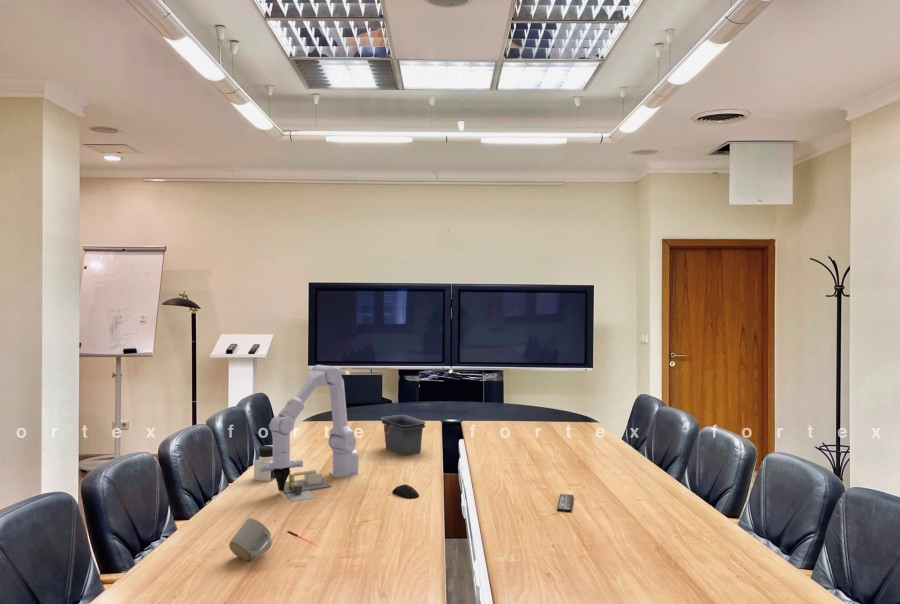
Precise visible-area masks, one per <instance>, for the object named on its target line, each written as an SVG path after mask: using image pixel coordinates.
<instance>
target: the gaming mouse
mask: <svg viewBox="0 0 900 604" xmlns="http://www.w3.org/2000/svg"><path fill="white" fill-rule="evenodd" d="M391 492H392V494H393V495H395V496H397V497H400V498H403V499H405V500H415V499H418V498H420V494H419V493H418V492H417V490H416V489H415V488H414V487H413V486H411V485H409V484H406V483H405V484H401V485H398V486H396V487H394V489H393V490H392V491H391Z"/></svg>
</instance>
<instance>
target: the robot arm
mask: <svg viewBox="0 0 900 604" xmlns="http://www.w3.org/2000/svg"><path fill="white" fill-rule="evenodd" d="M323 386H326V387H328V388H329V394H330V395H329V396H330V406H331V407H330V408H331V415H332V416H331V418H332V419H331V420H332V428H331V429H330V430H329V436H328V446H329V448H330V449H331V452H332V470H330V471H329V474H330V475H331V476H332V477H333V478H335V479H336V478H345V477H351V476H356V475H360V473H359V454H358V451H357V450H356V449H355V447H356V445H357V439H356V437H355V434H354V430H353V429H352V428H351V427H350V426H349V425H348V416H347V414H348V412H347V403H346V402H347V401H346V392H345V380H344V378H343V377H342V370H341V369H340V368H339V367H337V366H335V365H331V366H330V365H323V364H316V365H313V367H312V369H311V370H310V371H309V372H308V378H307V379H306V381H305V383H304V384H303V385H302V387H301V389H300V390H299V392H298V394H297V395H296V396H295V397H291V398H290V399H288V400H287V402H286V404H285V405H284V407H283V408H282V410H281V411H279V413H278V415H276V416H273V418H272V419H271V420H270V421H269V422H270V423H269V424H268V428H269V430H270V431H271V436H272V446H273V463H270V464H266V465H261V466H259V472H260V473H263V472H266V471H273V473H274V475H275V478H276V479H275V480H276V483H277V487H278V488H277V489H278V492H283V491H284V486H285V483H286V482H287V481H288V479H289V474H290V473H291V469H294V468H303V467H304V464H303V463H304V461H303V460H302V459H301V460H291V432H292V431H293V430H294V426H295V422H296V419H297V418H298V417H299V415H300V414H301V413H302V411H303V410H304V409H305V402H306V401H307V400H308V398H309V397H310V396H311V395H312V394H313V392H314V391H315V390H317V388H319V387H323Z"/></svg>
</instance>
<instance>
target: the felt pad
mask: <svg viewBox="0 0 900 604" xmlns="http://www.w3.org/2000/svg"><path fill="white" fill-rule="evenodd" d="M285 496H286V497H287V498H288V499H289V500H290V501H291V502H293V503H294V502H300V501H304V500H309V499H311V500H312V499H315V498H316V496H315V495H314V494H313V493H312V492H311V490H310V491H303V492H302V493H300V494H295V493H290V494H285Z"/></svg>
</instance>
